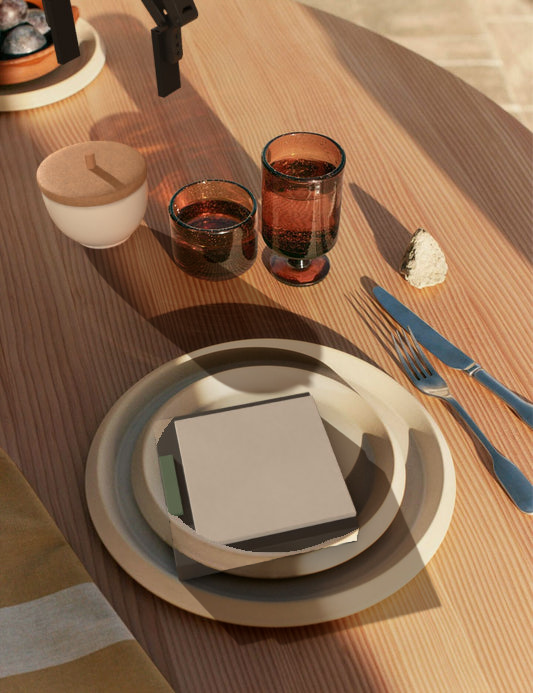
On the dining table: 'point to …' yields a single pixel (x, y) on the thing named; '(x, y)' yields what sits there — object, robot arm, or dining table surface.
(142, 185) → the lidded bowl
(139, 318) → the dining table surface
